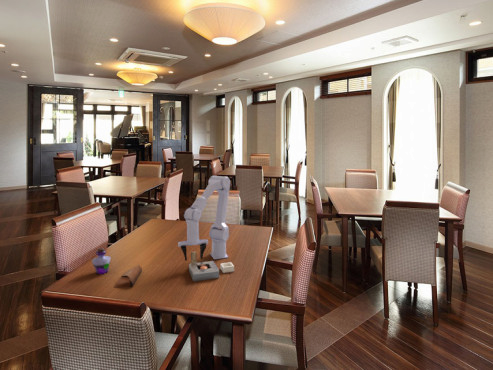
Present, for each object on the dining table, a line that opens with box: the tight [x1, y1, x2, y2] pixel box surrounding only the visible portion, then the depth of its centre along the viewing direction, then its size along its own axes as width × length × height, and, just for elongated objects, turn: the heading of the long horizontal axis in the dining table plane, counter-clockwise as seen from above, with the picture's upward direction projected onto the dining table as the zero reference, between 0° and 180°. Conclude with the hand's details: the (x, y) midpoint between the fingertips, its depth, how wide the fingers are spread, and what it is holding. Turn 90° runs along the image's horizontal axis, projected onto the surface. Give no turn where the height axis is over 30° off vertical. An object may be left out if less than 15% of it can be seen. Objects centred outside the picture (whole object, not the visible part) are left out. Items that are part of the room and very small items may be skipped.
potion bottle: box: [91, 247, 112, 275], centre depth 163 cm, size 9×9×12 cm
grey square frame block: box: [188, 260, 220, 282], centre depth 160 cm, size 12×12×4 cm
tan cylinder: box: [190, 251, 198, 264], centre depth 168 cm, size 3×3×8 cm
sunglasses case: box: [113, 265, 143, 289], centre depth 155 cm, size 18×7×7 cm
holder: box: [219, 261, 235, 274], centre depth 165 cm, size 6×6×3 cm
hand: (193, 259), depth 168 cm, fingers open, 7 cm apart
